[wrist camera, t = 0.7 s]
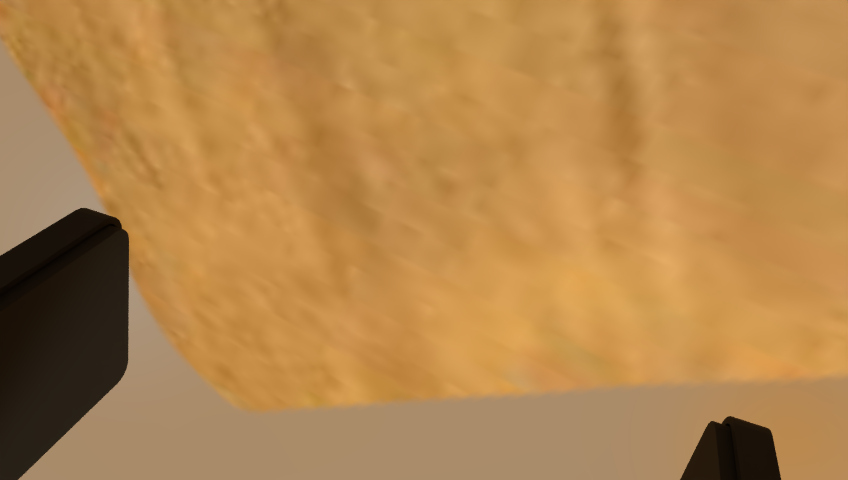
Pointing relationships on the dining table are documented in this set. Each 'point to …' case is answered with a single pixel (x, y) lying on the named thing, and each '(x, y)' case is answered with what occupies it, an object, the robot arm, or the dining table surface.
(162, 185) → the dining table surface
